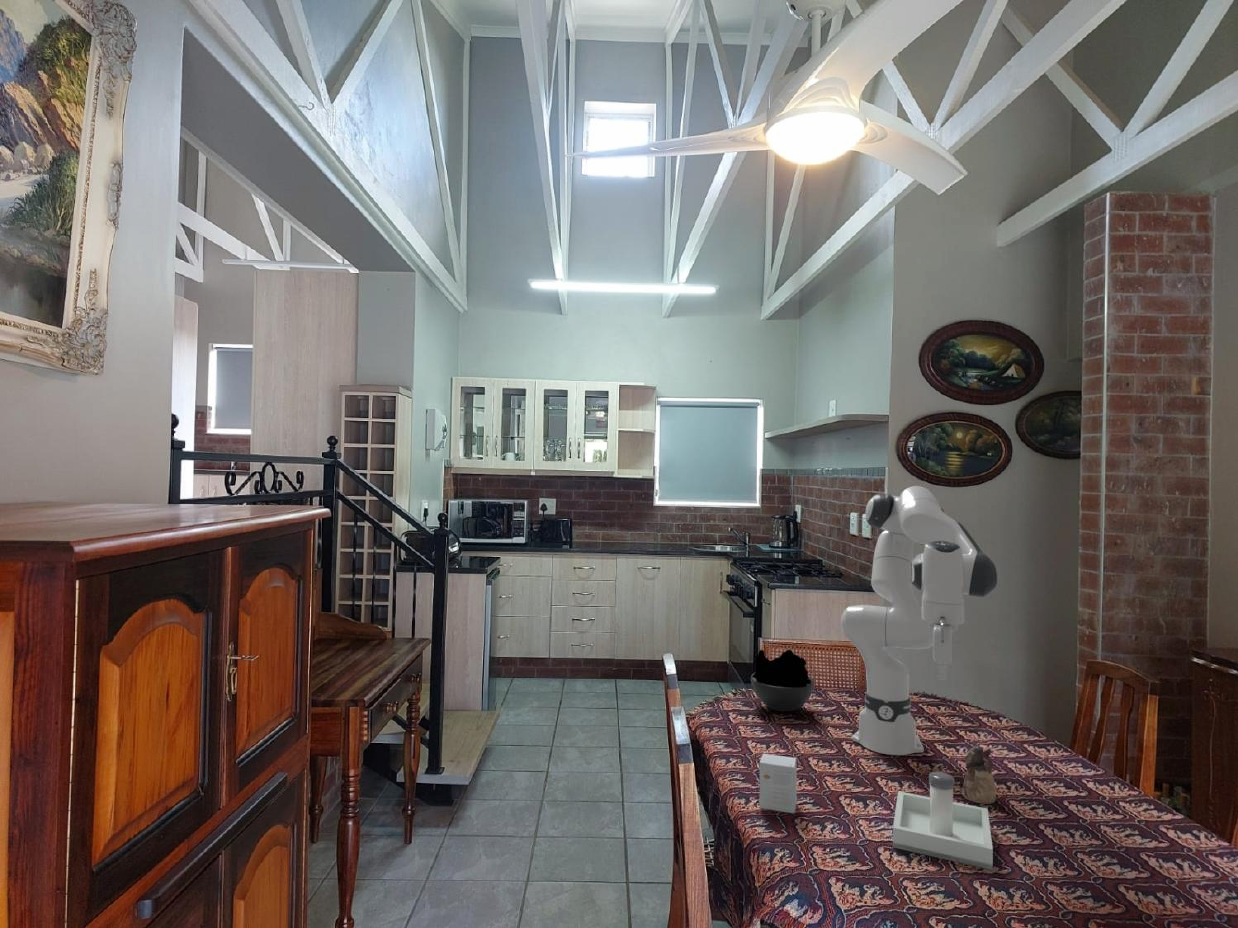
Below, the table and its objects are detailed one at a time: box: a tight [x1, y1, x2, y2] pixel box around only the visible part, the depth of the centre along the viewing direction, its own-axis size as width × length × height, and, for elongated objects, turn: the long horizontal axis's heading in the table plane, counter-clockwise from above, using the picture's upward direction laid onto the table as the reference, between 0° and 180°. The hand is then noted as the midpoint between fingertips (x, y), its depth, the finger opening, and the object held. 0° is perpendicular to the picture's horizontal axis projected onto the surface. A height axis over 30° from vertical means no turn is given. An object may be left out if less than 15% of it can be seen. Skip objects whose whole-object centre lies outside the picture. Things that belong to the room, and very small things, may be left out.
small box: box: [759, 753, 798, 814], centre depth 157 cm, size 8×6×10 cm
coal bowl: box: [750, 649, 815, 712], centre depth 221 cm, size 20×20×19 cm
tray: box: [892, 790, 994, 871], centre depth 144 cm, size 18×18×4 cm
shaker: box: [928, 771, 955, 837], centre depth 144 cm, size 5×5×12 cm
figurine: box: [961, 745, 997, 805], centre depth 162 cm, size 7×7×12 cm
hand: (942, 674), depth 155 cm, fingers open, 8 cm apart
